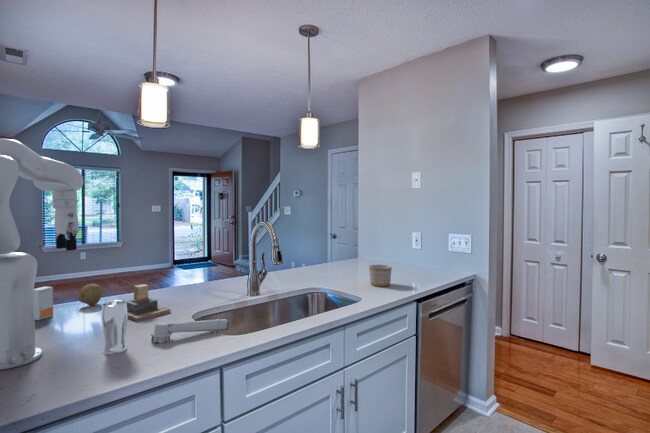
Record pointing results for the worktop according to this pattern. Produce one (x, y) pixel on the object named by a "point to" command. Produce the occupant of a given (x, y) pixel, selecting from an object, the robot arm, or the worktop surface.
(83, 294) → the natural sponge
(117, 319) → the beer glass
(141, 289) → the oak peg
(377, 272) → the planter
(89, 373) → the worktop surface
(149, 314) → the peg caddy
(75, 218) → the robot arm
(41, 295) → the skincare box
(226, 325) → the white handle
